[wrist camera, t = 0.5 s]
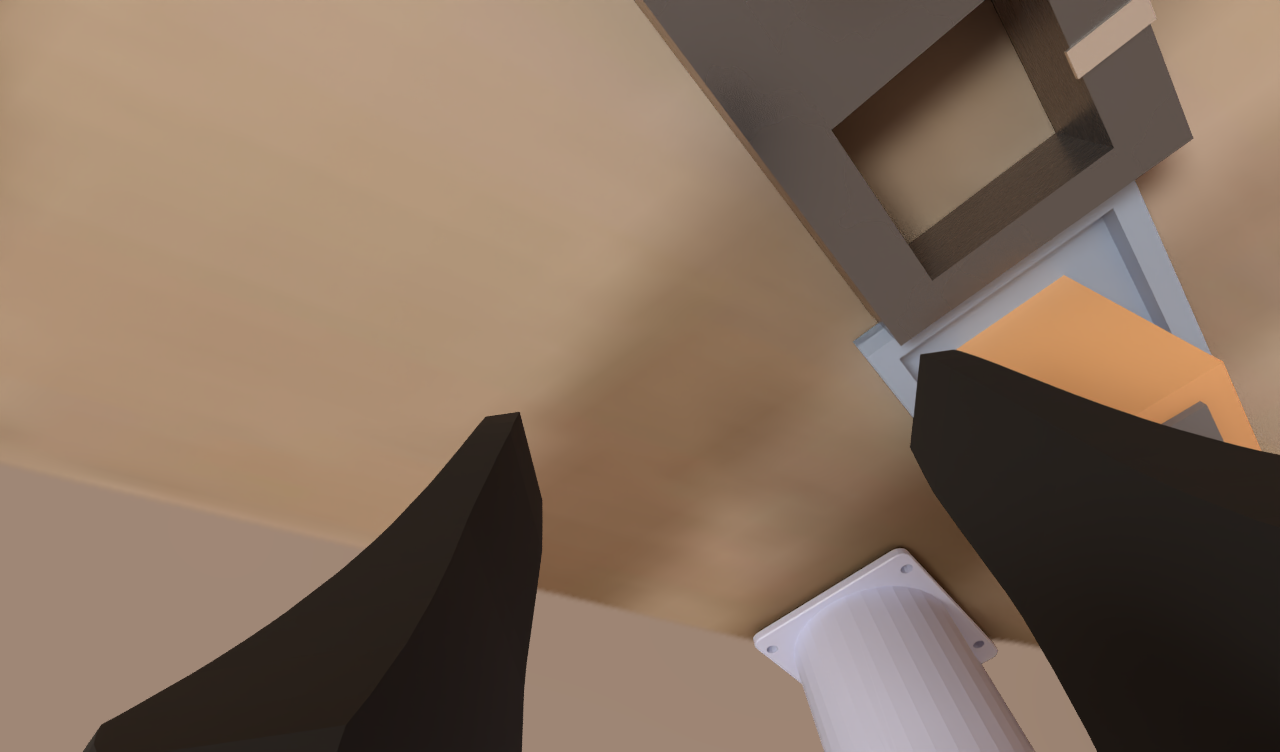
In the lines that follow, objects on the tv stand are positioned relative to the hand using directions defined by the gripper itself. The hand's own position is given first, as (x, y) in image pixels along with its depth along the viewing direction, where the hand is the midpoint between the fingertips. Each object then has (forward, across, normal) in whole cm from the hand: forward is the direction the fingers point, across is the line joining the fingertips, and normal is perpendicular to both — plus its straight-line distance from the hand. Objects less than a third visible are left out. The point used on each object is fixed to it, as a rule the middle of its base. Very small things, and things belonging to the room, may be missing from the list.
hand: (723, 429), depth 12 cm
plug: (+9, -12, +5) cm, 16 cm away
